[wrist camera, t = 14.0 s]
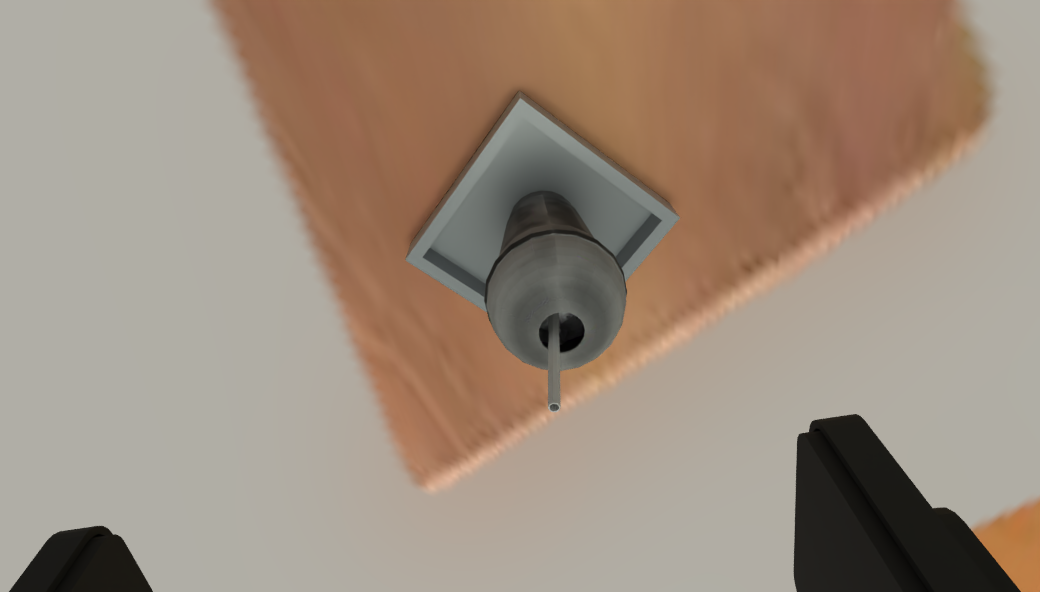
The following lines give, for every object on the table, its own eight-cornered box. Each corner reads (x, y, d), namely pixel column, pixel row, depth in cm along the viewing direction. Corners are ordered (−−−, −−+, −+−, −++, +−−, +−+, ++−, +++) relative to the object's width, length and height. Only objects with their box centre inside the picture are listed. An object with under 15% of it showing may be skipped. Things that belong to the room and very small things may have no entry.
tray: (519, 90, 43) (520, 98, 41) (669, 203, 47) (680, 217, 44) (410, 243, 47) (405, 260, 45) (556, 337, 51) (559, 358, 48)
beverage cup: (620, 207, 46) (699, 361, 28) (557, 293, 48) (592, 486, 30) (526, 147, 44) (545, 269, 26) (466, 239, 46) (445, 411, 28)
